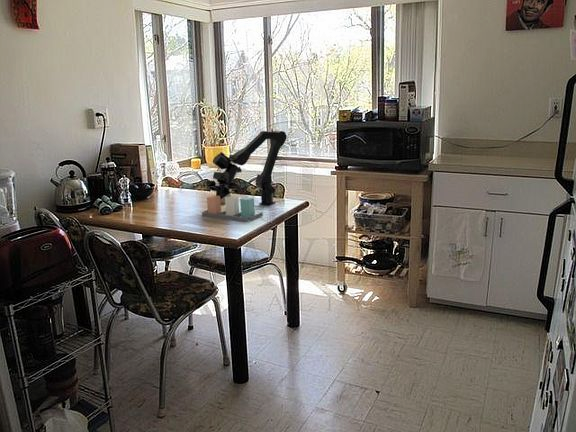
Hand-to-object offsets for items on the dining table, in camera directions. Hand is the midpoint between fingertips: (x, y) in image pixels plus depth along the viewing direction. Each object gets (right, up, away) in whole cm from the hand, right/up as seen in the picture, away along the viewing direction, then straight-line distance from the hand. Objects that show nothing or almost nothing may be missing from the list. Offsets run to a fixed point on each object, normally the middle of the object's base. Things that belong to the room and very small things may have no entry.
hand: (216, 201), depth 242 cm
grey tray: (+8, -8, -3) cm, 12 cm away
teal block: (+16, -8, -7) cm, 19 cm away
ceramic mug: (+2, -1, +27) cm, 27 cm away
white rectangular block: (+8, -7, -3) cm, 11 cm away
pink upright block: (-1, -7, 0) cm, 7 cm away
